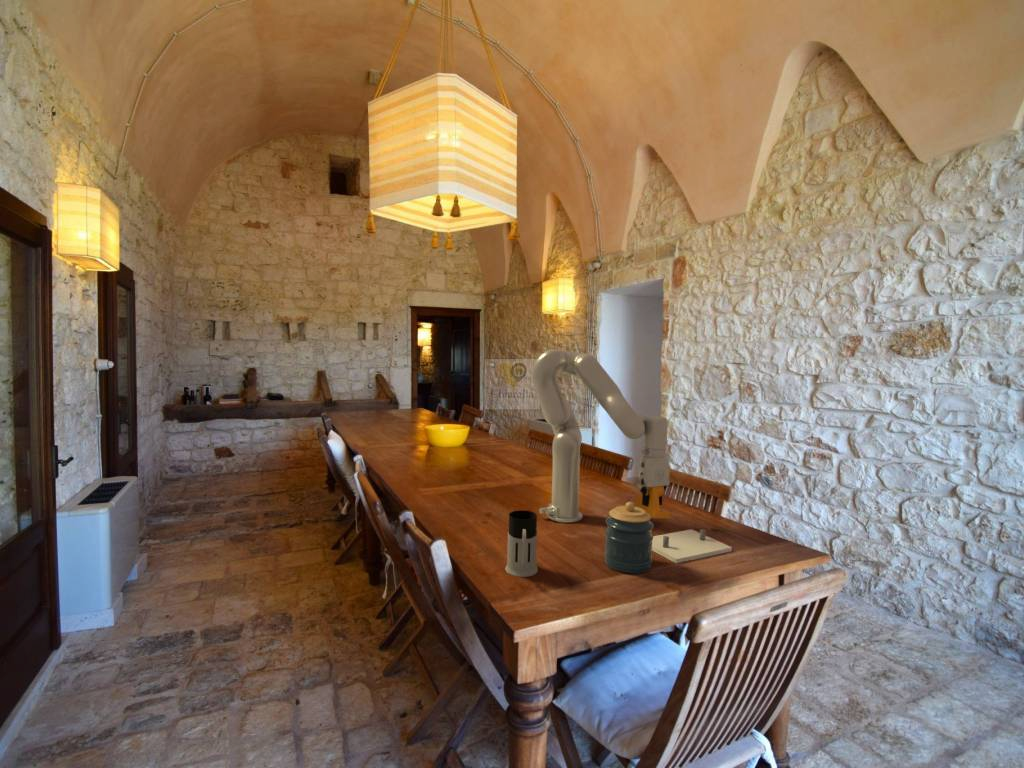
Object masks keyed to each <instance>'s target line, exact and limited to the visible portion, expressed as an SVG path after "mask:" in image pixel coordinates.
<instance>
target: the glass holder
mask: <svg viewBox="0 0 1024 768" xmlns="http://www.w3.org/2000/svg"><path fill="white" fill-rule="evenodd" d="M537 521H538V515H537V513H536V512H534V511H531V510H520V509H519V510H514V511H511V512H509V513H508V529H507V554H506V555H507V556H506V557H507V558H506V559H507V561H506V566H505V568H504V570H505V572H506V573H507V574H509V575H510V574H511V576H513V575H514V577H518V576H519V578H527V577H531V576H534V575H535V574H537V573H538V566H537V555H538V554H537V550H538V549H537V546H538V530H537V527H538V526H537V525H538V522H537Z"/></svg>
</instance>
